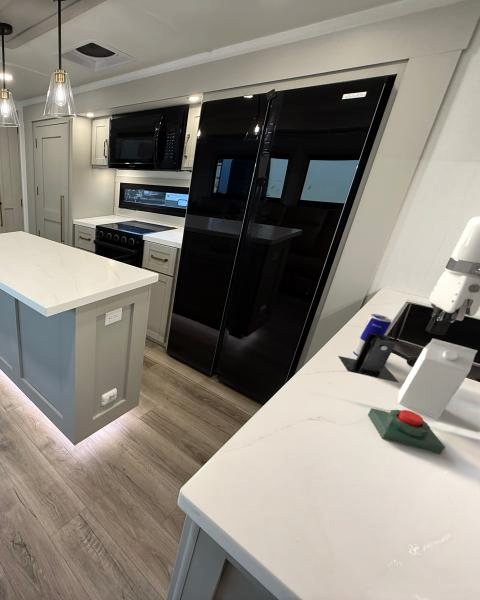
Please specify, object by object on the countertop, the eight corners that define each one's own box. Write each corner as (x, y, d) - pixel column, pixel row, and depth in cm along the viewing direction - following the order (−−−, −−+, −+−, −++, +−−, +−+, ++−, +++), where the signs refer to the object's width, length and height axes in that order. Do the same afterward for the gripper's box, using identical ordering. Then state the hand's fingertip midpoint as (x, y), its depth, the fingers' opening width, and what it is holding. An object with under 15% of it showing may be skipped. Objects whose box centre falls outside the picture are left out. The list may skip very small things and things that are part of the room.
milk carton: (397, 394, 84) (432, 333, 77) (434, 408, 80) (475, 345, 72) (396, 406, 79) (433, 343, 72) (436, 422, 75) (479, 356, 67)
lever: (412, 366, 90) (422, 358, 88) (418, 372, 87) (429, 364, 85) (367, 342, 92) (376, 334, 90) (372, 347, 89) (381, 339, 88)
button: (414, 418, 71) (418, 412, 70) (423, 429, 68) (427, 423, 67) (394, 413, 72) (398, 407, 71) (402, 424, 69) (406, 418, 68)
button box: (419, 428, 73) (428, 415, 71) (440, 454, 66) (450, 441, 64) (367, 414, 76) (374, 402, 75) (381, 438, 69) (389, 425, 68)
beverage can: (358, 361, 98) (378, 319, 92) (348, 352, 103) (366, 312, 97) (375, 363, 98) (397, 321, 92) (365, 354, 102) (384, 314, 96)
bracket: (383, 368, 95) (400, 335, 91) (397, 385, 88) (417, 350, 83) (336, 358, 99) (351, 326, 95) (346, 374, 92) (362, 340, 87)
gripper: (515, 278, 69) (472, 349, 76) (469, 262, 82) (436, 324, 89) (469, 273, 71) (432, 342, 78) (431, 259, 84) (402, 319, 91)
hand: (434, 332), depth 83 cm, fingers closed
